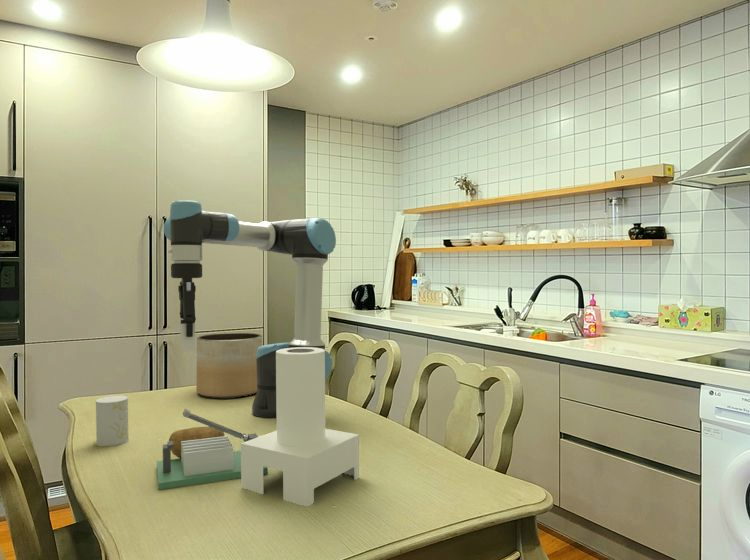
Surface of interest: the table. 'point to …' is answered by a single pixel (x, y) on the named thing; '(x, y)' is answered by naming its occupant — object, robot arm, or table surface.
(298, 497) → the paper towel holder
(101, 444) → the white patterned canister
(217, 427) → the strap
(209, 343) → the planter
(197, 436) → the potato
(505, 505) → the table surface
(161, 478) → the heatsink board
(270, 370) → the robot arm
